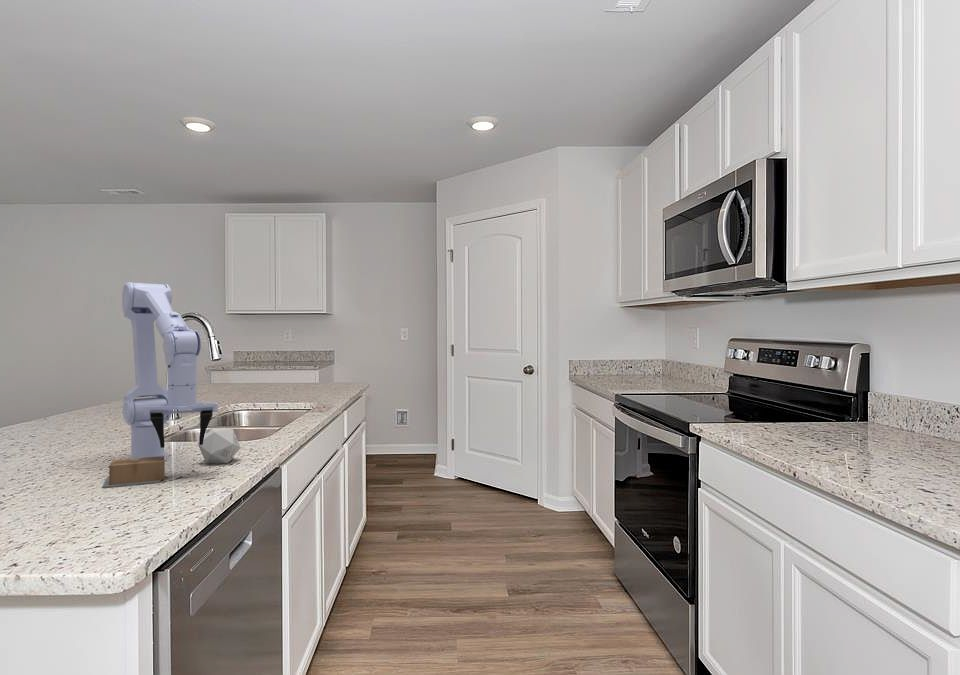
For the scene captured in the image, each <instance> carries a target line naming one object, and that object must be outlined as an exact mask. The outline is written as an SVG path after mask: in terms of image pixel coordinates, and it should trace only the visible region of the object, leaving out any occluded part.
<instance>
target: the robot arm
mask: <svg viewBox="0 0 960 675" xmlns="http://www.w3.org/2000/svg"><path fill="white" fill-rule="evenodd" d="M172 301H173V291H172V289H171V286H170V285H169V284H167V283H163V284H160V283H145V282H132V281H127V282H125V284H124V285H123V287H122V292H121V302H122V304H121V305H122V311H123V316H124V318H127V319H128V320H130V324H131V331H132V343H133V344H132V346H133V359H134V360H133V361H134V376H135V378H134V379H135V385H134V386H133V387H132V388H130V389H129V390H128V391H126V393H125V394H124V396H123V404H122V416H123V418H122V419H123V421H124V422H125V423H126V424H127V425H129V426H130V457H129V459H132V458H144V457H157V456H164V462H166V461H167V460H166V459H167V452H166V451H165V424H167V422H168V421H169V420H170V419H171V417H172V415H174V414H191V413H199V424H200V425H199V426H200V427H199V438H198V440H199V442H198V443H199V445H203V440H204V436H205V435H206V433H207V430H208V429H207V428H208V426H209V424H210V422H211V420H212V418H213V413H217V412H218V411H219V407H218V402H197V356H199V355H200V353H201V350H202V340H201V335H200V333H199V331H198V330H196V329H195V330H193V329H191V328H189V327H188V325H187V324H186V322H185V320H184V318H183V317H182V315H181V314H180V313H178V312H177V311H174V310H173V308H172V305H171V304H172ZM155 327H156V329H157V330H158V333H159V334H160V336H161V338H162V339H163V341H162V342H163V343H162V347H163V348H162V349H163V353H164V361H165V365H167V389H166V388H165V387H163V386H161V385H160V384H158V383H159V382H158V381H159V380H158V371H157V370H158V368H157V352H156V338H155Z"/></svg>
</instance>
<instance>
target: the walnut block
mask: <svg viewBox="0 0 960 675" xmlns="http://www.w3.org/2000/svg"><path fill="white" fill-rule="evenodd" d="M108 468H109V469H108V470H109V472H108V473H109V474H108V475H109V476H108V477H109V485H115V484H125V483H136V482H146V481H157V480H161V481H164V480H165V461H164V456H157V457H144V458H132V459H130V458H122V459H119V458H118V459H111V462H110V464H109V465H108Z"/></svg>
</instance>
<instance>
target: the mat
mask: <svg viewBox="0 0 960 675" xmlns="http://www.w3.org/2000/svg"><path fill="white" fill-rule="evenodd" d="M105 478H106V479H105V480H104V482H103V484H102V485H101V489H105V488H106V489H108V488H118V487H127V486H128V487H131V486H140V485H150V484H159V483H161V481H162V480H157V481H146V482H136V483H125V484H115V485H109V476H106V477H105Z"/></svg>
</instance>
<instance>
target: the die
mask: <svg viewBox="0 0 960 675" xmlns="http://www.w3.org/2000/svg"><path fill="white" fill-rule="evenodd" d="M197 445H198V447H199V451H200V452H201V454H202V457H203V459H204V461H205V463H206V464H229V462H230V461H231V460H232V459H233V458H234V456H236V454H237V453H238V452H239V451H240V449H241V444H240V443H239V440H238V437H237V435H236V433H235V431H234V429H233V428H211V429H210V430H208V432H206V433H205V435H204V440H203V445H199V442H198V443H197Z"/></svg>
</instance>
